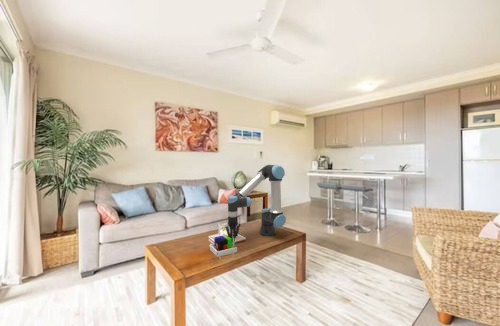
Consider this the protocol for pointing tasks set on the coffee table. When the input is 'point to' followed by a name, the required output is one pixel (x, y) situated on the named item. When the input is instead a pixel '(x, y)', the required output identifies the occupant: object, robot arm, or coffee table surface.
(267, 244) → the coffee table surface
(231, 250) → the tray
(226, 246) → the puzzle toy
